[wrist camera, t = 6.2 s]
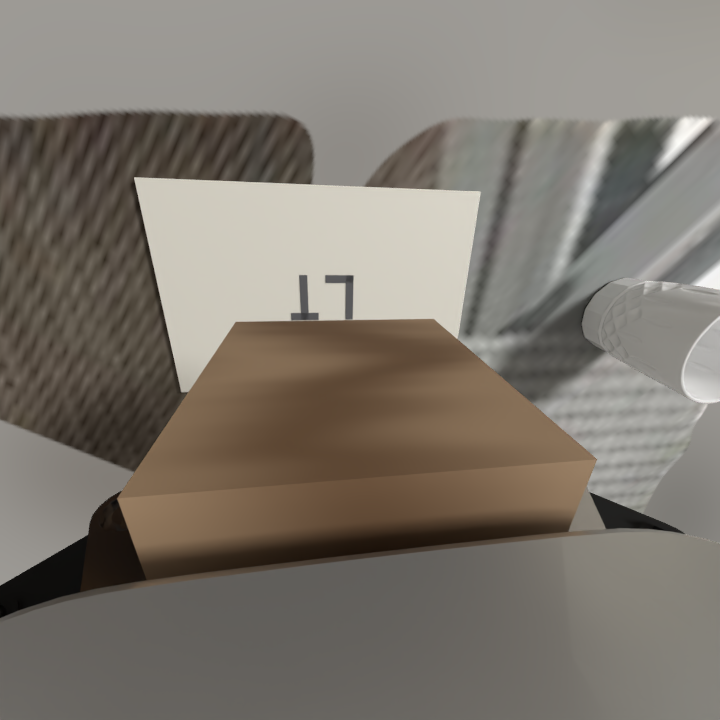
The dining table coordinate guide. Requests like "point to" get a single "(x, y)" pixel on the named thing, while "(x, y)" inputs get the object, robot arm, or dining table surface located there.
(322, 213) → the board
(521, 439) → the walnut block
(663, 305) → the white cup
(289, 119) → the dining table surface
